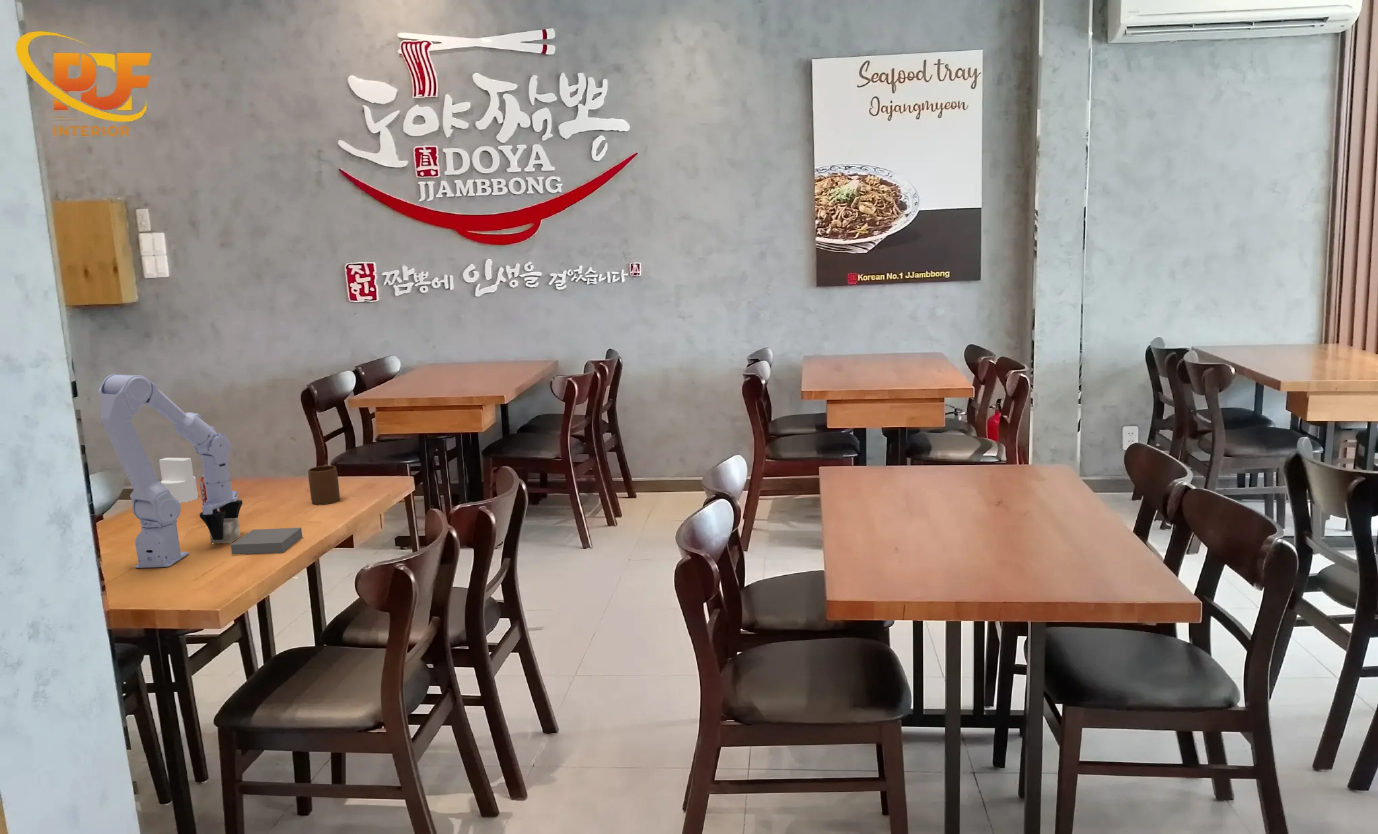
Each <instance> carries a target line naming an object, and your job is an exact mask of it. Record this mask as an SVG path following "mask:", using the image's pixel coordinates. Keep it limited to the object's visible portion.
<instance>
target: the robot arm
mask: <svg viewBox="0 0 1378 834" xmlns="http://www.w3.org/2000/svg"><path fill="white" fill-rule="evenodd" d="M97 392H98V394H99V396H100V422H101V424H102V426H103V428H104V431H105V433H106V434H107V437H108V438H109V441H110V442H111V443H110V444H111V445H112V447H113V449H114V451H115V453H116V455H117V456H116V457H118V460H119V462H120V464H121V466H122V468H123V470H124V472H125V474H126V477H127V478H128V481H129V483H130V485H131V487H132V489H133V490H132V491H131V493H130V494H129V496H130V500H131V502H132V503H131V504H132V513H133V515H134V516H135V518H137V519H139V524H140V526H141V530H140V532H139V533H138V534H137V536H136V538H135V550H136V555H137V562H138V563H137V564H136V565H135V566H134V567H135V569H144V568H164V567H165V568H168V567H171V566H173V565H174V564H175V563H177V562H179V561H180V560H182V559H183V558H184V557H186V556H188V555H189V554H190V553H189V551H181V545H180V538H179V532H178V526H177V523H178V518H179V517H180V515H181V511H182V510H181V507H182V506H181V503H179V501H178V500H177V499H175V498H174V497H173V496H172V495H171V493H170V491H169V490H168V489H167V488H166V487H165V486H164V485H163V484H161V481H159V480H160V479H159V478H158V477H157V474H156V472H155V470H154V467H153V466H152V463H151V461H150V459H149V457H148V455H147V452H146V451H145V448H144V446H143V444H142V442H141V439H140V437H139V435H138V433H137V431H136V428H135V427H134V424H133V422H132V419H133V417H134V416H135V414H136V413H137V412H138V411H139V409H140V408H141V407H143V405H147V406H149V407H150V408H152V409H153V410H155V411H156V412H157V413H159V414H160V415H161V416H163V417H164V418H166V419H167V420H169V421H170V422H171V423H173V430H174V432H175V433H177V435H179V436H180V437H182V438H183V439H185V440H186V441H187V442H188V443H190V444H191V445H192V446H193V449H194V451H195V453H196V454H199V455H200V458H201V466H202V472H203V473H202V474H204V480H205V487H206V494H207V501H206V503H205V505H204V506H203V505H202V507H201V509H202V512H200V513H199V518H200V519H201V520H202V521H203V522H204V524H205V526H206V527H207V529H208V532H209V531H210V533H211V536H212V538H213V540H222V539H223V522H224V519H228V518H238V519H239V514H240V511H241V507H242V505H243V500H242V499H239V493H238V490H232V489H233V488H232V482H231V474H230V467H229V453H230V451H231V450H232V442H230V441H229V439H228V437H227V436H226V435H225V434H224V433H219V432H218V433H217V432H216V428H215V427H214V426H213V425H209V424H208V423H206V422H205V421H203V419H201V418H202V415H200V414H199V413H197V412H196V413H194V412H184V411H183V409H181V408H180V407H179V406H178V405H177V404H176V403H175V402H174V401H172V400H171V399H170V398H169V397H168V396H167V395H166V394H165V393H164V392H163V391H161V389H159V387H158V386H157V384H156V383H154V382H152V381H150V380H149V379H148V378H147V377H146V376H143V375H140V374H136V375H135V374H134V375H131V374H130V375H128V374H120V373H111V374H110V375H107V376H106V377H105V378H104V379H103V381H102V383H101V385H100V387H99V389H98V391H97ZM218 508H219V509H220V511H221V512H219V511H217V509H218ZM210 533H209V534H210Z"/></svg>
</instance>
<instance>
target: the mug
mask: <svg viewBox="0 0 1378 834" xmlns="http://www.w3.org/2000/svg"><path fill="white" fill-rule="evenodd" d="M307 472H308V474H307V475H308V476H307V478H308V485H309V493H310V501H311V503H312V504H314V505H318V504H322V505H329V504H334V503H337V502H339V501H340V498H341V496H340V494H341V492H340V484H339V483H340V482H339V475H338V470H337V467H336V466H335V465H328V463H327V464H324V465H319V466H314V467H311V468H309V469H308V471H307ZM333 502H334V503H333Z"/></svg>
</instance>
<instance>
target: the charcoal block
mask: <svg viewBox="0 0 1378 834" xmlns="http://www.w3.org/2000/svg"><path fill="white" fill-rule="evenodd" d="M301 539H303V532H302V527H283V528H281V527H280V528H259V529H258V528H257V529H251V530H250V531H249V532H247V533H246V534H244V535H243V536H240V538H239V539H237V540H236V541H234V542H233V543H230V552H231V555H232V554H246V555H266V553H267V555H268V554H270V555H271V554H283V553H285V552H286V551H287V550H289V549H290V548H292V546H294V545H295V544H296V543H297V542H299V541H300V540H301Z"/></svg>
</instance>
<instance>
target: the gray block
mask: <svg viewBox="0 0 1378 834" xmlns="http://www.w3.org/2000/svg"><path fill="white" fill-rule="evenodd" d="M208 532H209V539H210V545H213V544H212V543H229V544H233V543H234V542H236V541H237V540H238V539H237V538H239V537H240V538H241V531H240V523H239V517H238V518H228V519H224V522H223V539H222V540H213V538H212V536H211V533H210V531H209V530H208ZM240 538H239V539H240ZM236 539H237V540H236ZM235 540H236V541H235ZM233 541H234V542H233ZM232 542H233V543H232Z"/></svg>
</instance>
